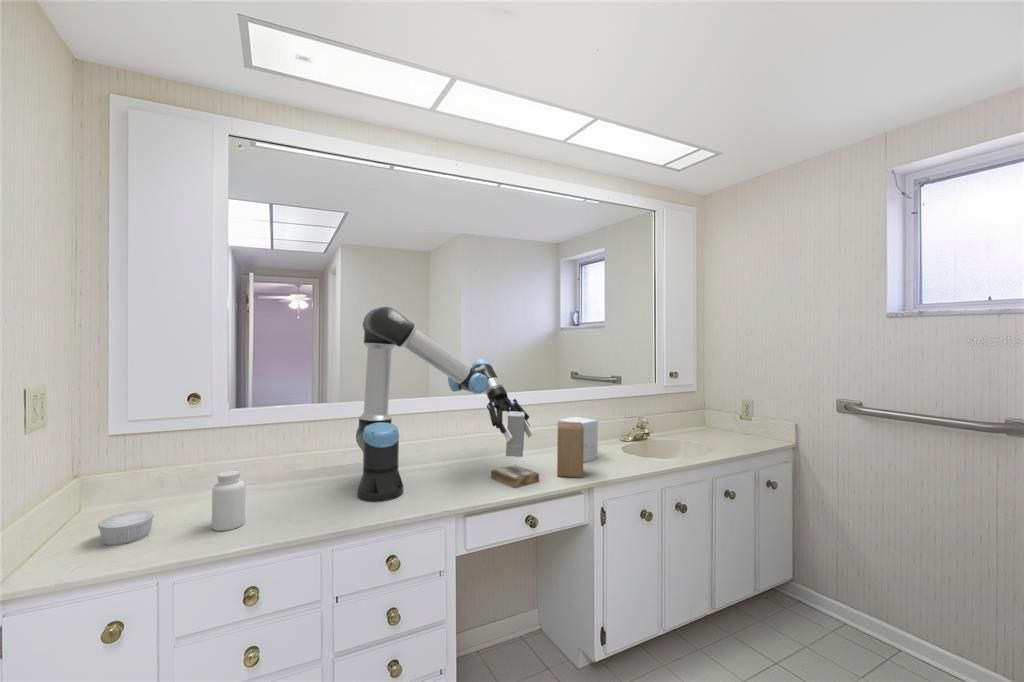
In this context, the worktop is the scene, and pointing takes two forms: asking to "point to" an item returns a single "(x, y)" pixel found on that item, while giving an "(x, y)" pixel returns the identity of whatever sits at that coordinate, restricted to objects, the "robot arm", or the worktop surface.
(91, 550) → the worktop surface
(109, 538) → the ramekin
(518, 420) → the skincare box
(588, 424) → the supplement box
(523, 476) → the wooden framed mirror
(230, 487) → the pill bottle
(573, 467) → the wooden block
